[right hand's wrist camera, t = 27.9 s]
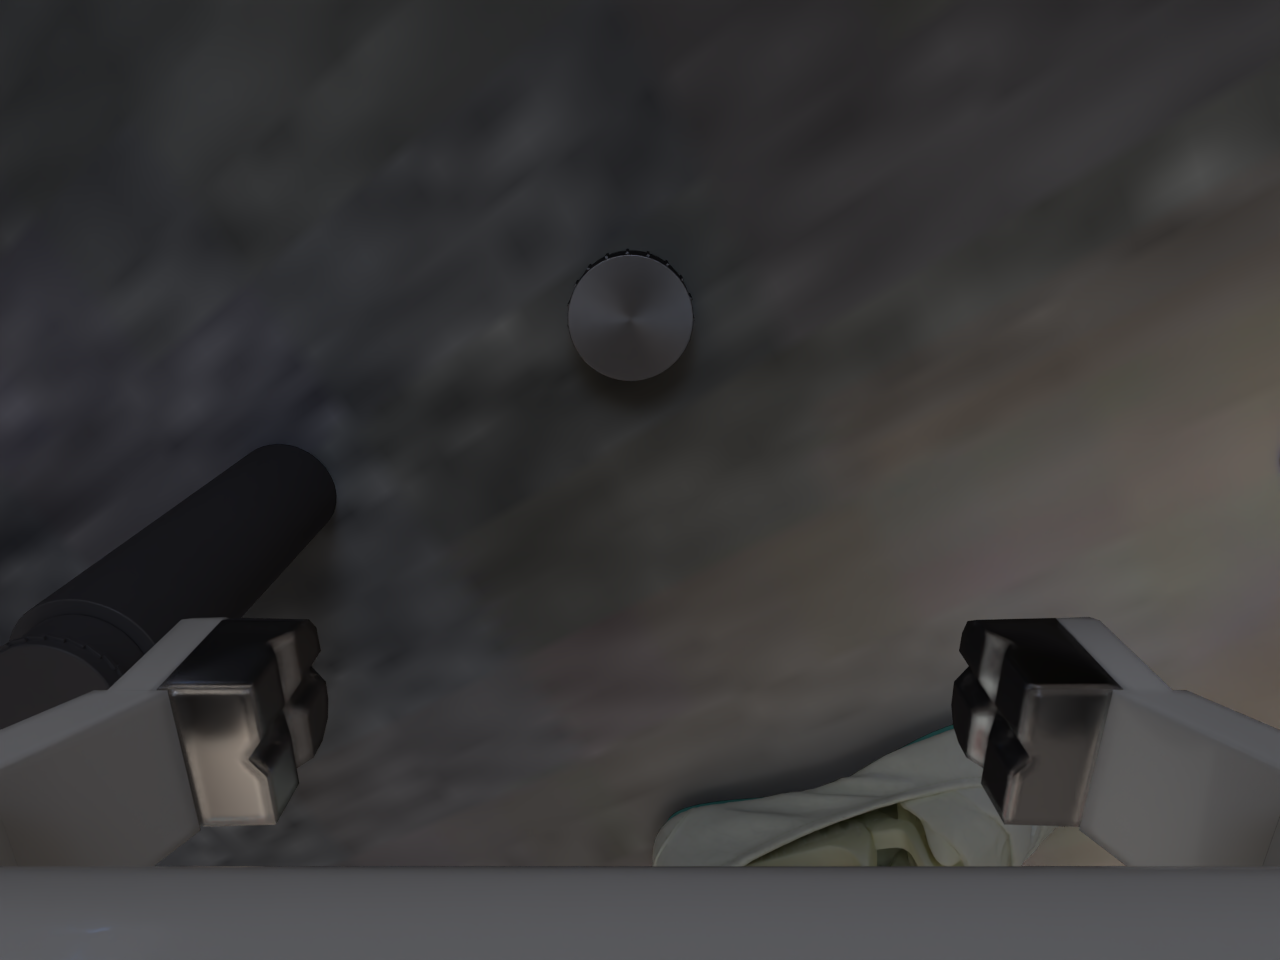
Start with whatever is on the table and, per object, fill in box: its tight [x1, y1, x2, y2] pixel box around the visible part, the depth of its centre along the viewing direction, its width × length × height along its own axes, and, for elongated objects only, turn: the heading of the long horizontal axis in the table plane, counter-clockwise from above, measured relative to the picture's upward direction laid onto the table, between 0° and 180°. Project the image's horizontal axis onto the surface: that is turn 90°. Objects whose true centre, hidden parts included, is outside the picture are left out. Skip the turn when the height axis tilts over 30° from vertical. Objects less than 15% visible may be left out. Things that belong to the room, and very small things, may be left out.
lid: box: [567, 249, 695, 381], centre depth 35 cm, size 6×6×2 cm
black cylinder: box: [0, 444, 336, 729], centre depth 32 cm, size 5×5×17 cm
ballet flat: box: [652, 725, 1057, 866], centre depth 42 cm, size 8×24×8 cm, turn 108°
